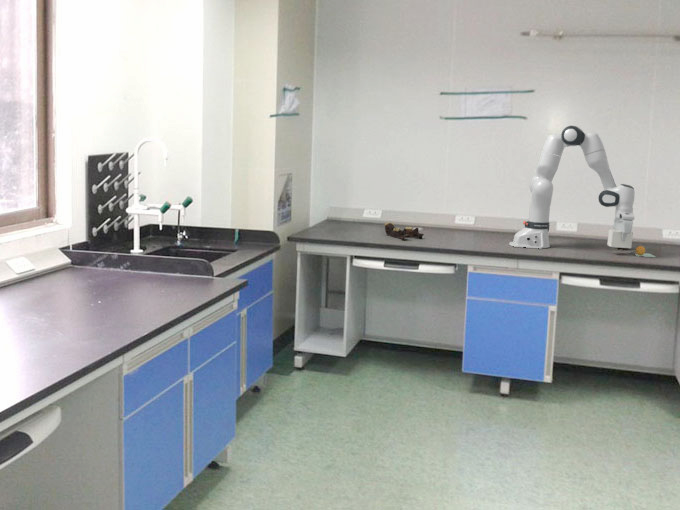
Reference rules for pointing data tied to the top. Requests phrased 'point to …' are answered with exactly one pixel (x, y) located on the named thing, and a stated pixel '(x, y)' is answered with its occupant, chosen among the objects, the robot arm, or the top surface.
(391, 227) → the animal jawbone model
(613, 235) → the white rectangular block
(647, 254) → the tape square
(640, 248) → the ball
